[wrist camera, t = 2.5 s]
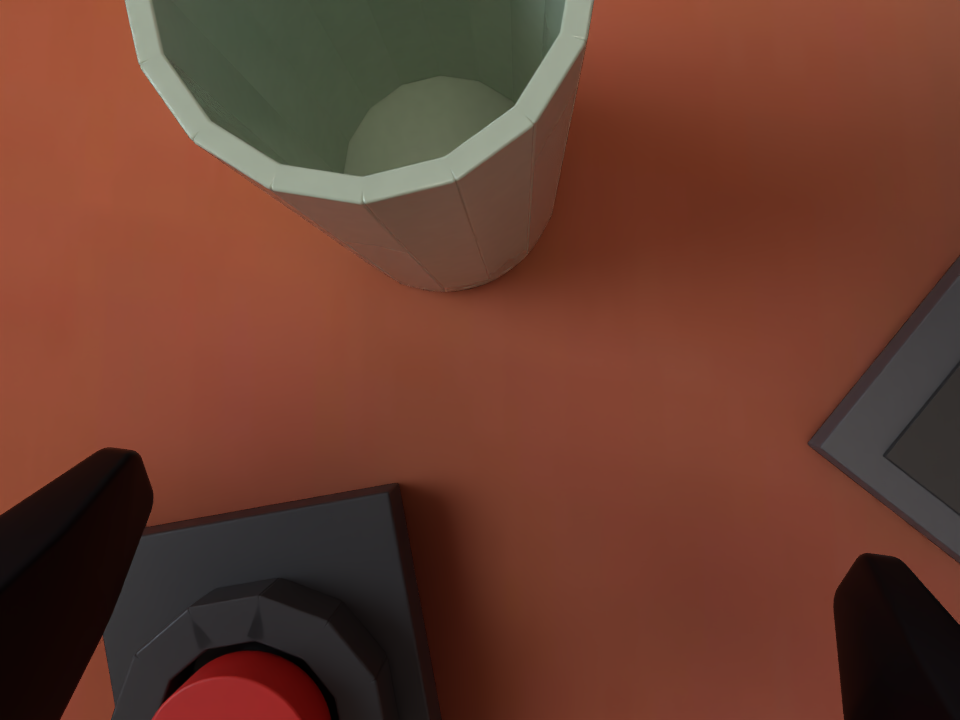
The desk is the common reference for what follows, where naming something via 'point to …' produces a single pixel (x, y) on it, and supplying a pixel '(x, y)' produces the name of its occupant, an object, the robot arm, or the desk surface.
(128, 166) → the desk surface
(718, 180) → the desk surface
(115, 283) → the desk surface
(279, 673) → the button
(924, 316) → the coffee maker
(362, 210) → the cup
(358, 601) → the button pad
